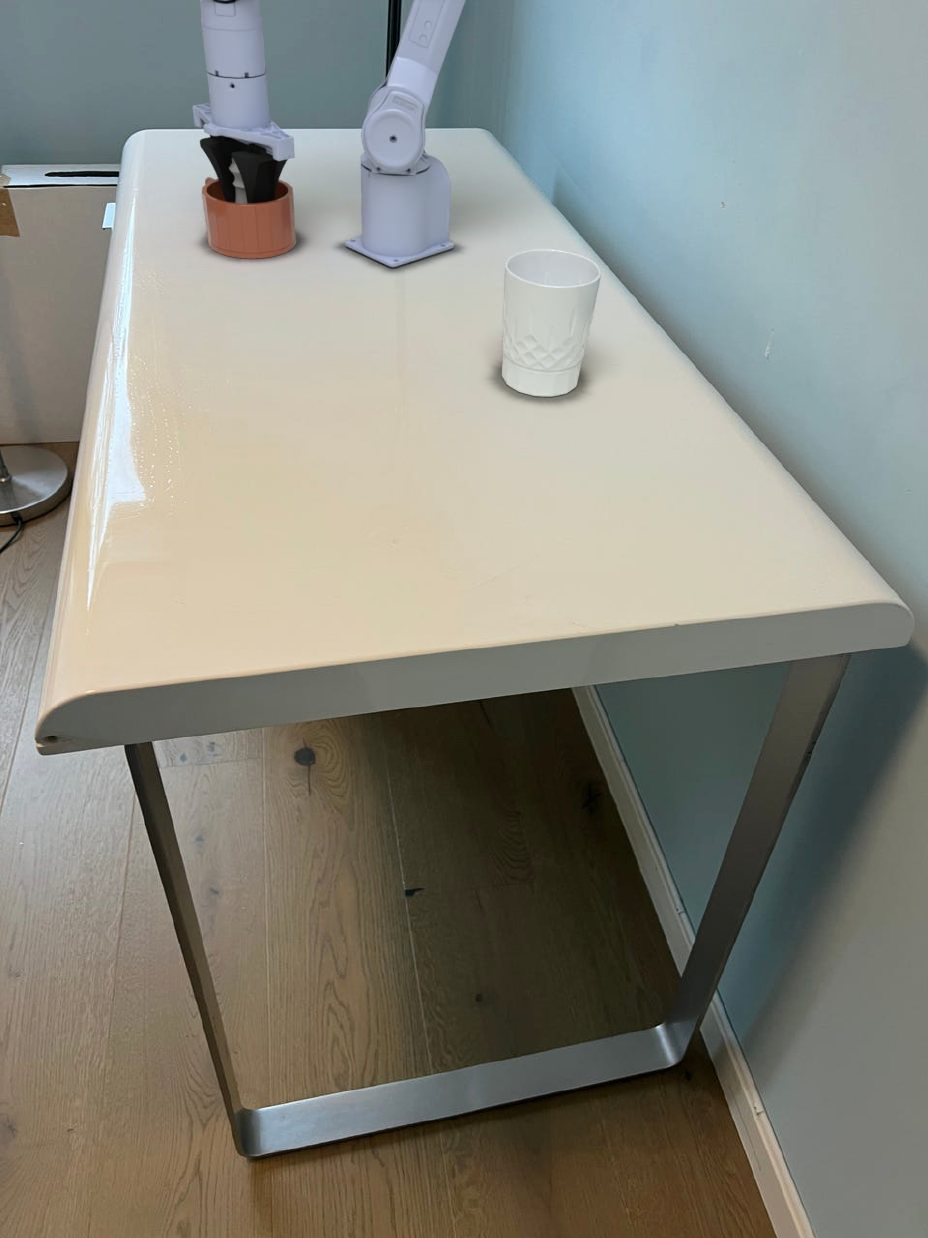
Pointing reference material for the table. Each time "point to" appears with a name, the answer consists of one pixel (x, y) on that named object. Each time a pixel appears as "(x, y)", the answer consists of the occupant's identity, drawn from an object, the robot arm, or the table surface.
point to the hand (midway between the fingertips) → (250, 214)
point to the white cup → (547, 319)
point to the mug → (249, 223)
